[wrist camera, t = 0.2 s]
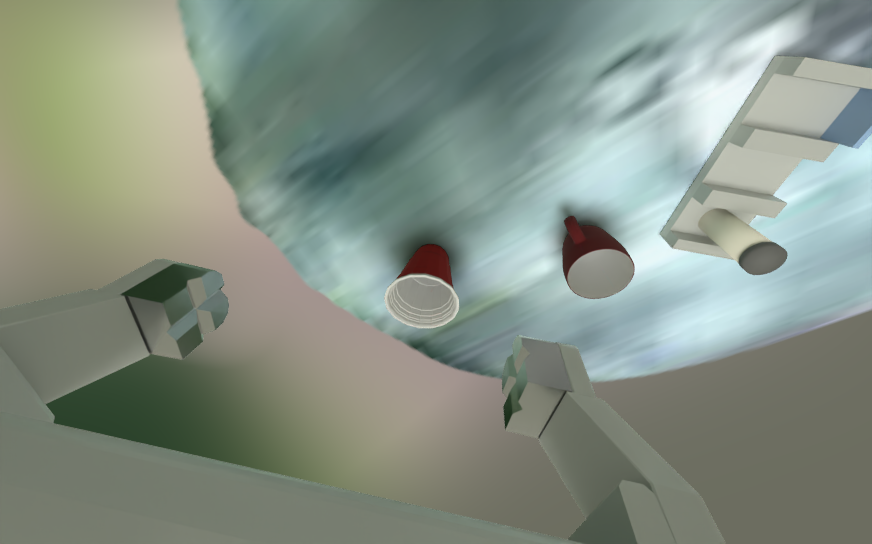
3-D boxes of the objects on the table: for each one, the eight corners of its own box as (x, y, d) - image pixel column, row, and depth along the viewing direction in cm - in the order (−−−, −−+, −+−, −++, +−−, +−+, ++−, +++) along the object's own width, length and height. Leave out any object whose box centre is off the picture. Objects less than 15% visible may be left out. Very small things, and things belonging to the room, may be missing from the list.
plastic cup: (428, 292, 59) (416, 341, 50) (389, 251, 55) (368, 296, 45) (476, 266, 55) (474, 315, 45) (438, 219, 50) (426, 261, 41)
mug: (533, 224, 49) (542, 260, 41) (581, 189, 45) (602, 222, 37) (572, 267, 52) (588, 308, 44) (620, 238, 48) (647, 278, 40)
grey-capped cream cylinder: (708, 204, 42) (760, 243, 34) (737, 210, 42) (796, 250, 34) (691, 229, 44) (736, 271, 36) (718, 234, 44) (769, 277, 36)
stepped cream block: (775, 55, 34) (818, 58, 29) (866, 71, 34) (923, 76, 29) (659, 234, 47) (677, 254, 43) (724, 246, 47) (749, 267, 42)
